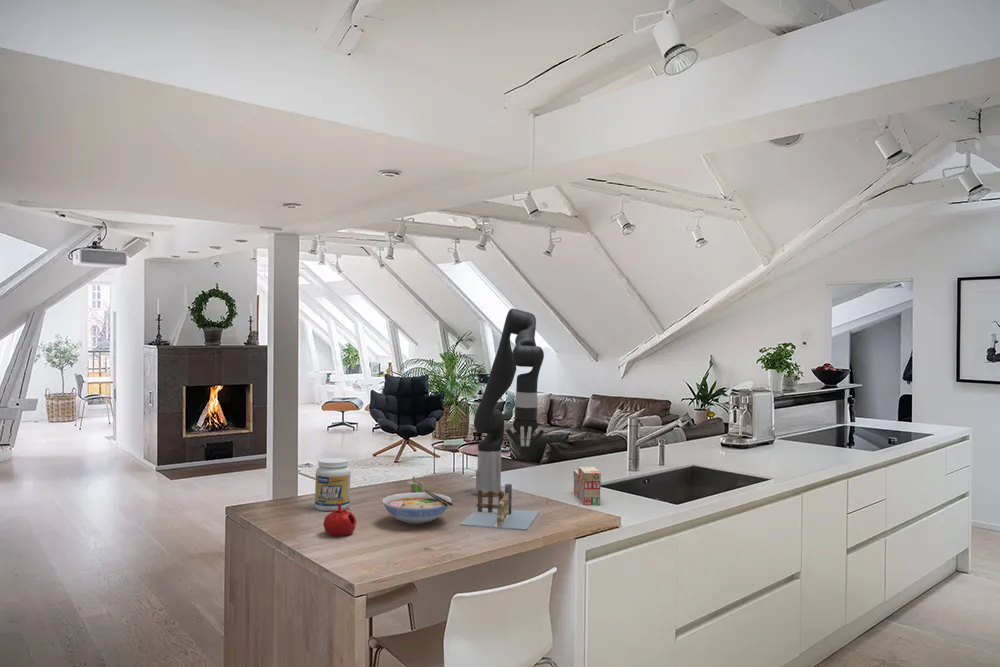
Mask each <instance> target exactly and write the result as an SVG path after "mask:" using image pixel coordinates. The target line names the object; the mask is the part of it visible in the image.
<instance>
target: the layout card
mask: <svg viewBox="0 0 1000 667" xmlns="http://www.w3.org/2000/svg"><path fill="white" fill-rule="evenodd" d="M539 514H540V511H535V510H521V509H511V514H509V515H507V517H506V518H504V522H502V525H501V526H500V525H497V509H493V512H492V513H489V512H488V508H482V512H478V508H477V507H476V509H475V510H474V511H473V512H471V514H470V515H468V516H467V517H466V518H465V519H464V520H463V521H462V522H461V523H460V526H463V527H478V528H491V529H504V530H518V531H528V530H529V528H530V527H531V525H532V524H533V523H534V521H535V519H536V518H537V517H538V515H539Z"/></svg>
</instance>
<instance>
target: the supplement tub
mask: <svg viewBox="0 0 1000 667" xmlns="http://www.w3.org/2000/svg"><path fill="white" fill-rule="evenodd" d="M317 465H318V468H316V470H315V488H314V493H315V494H314V506H315V508H316V509H317V510H319V511H323V512H333V510H337V511H338V508H337V507H338V504H339V503H340V504H341V510H343V509H346V508H350V505H351V504H350V503H351V500H350V499H351V473H352V472H351V468H350V467H348V466H349V459H347V458H344V457H343V458H341V457H328V458H321V459H319V460H318V463H317ZM330 509H331V510H330ZM327 510H328V511H327ZM346 510H347V509H346Z"/></svg>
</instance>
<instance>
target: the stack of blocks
mask: <svg viewBox="0 0 1000 667" xmlns="http://www.w3.org/2000/svg"><path fill="white" fill-rule="evenodd" d="M601 475H602V473H601V472H600V470H599V469H597V468H596V467H595V466H578V468H577V469H574V470H573V493H574V494H575V496H576V497H577V498H578V500H579V501H580V502H581V504H582V505H583V506H601V486H602V485H601V484H602V483H601V482H602V481H601V480H602V479H601V478H602V476H601Z"/></svg>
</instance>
